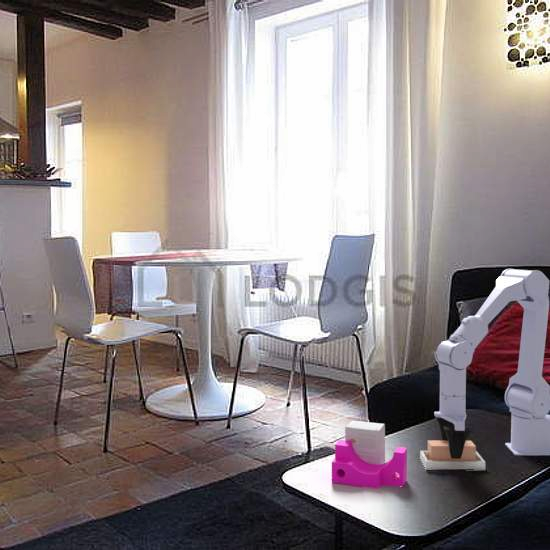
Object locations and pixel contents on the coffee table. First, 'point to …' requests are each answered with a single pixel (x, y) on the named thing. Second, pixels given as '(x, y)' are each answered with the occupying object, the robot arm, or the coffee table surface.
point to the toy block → (367, 468)
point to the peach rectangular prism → (442, 452)
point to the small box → (367, 440)
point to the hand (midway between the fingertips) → (451, 452)
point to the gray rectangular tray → (452, 463)
